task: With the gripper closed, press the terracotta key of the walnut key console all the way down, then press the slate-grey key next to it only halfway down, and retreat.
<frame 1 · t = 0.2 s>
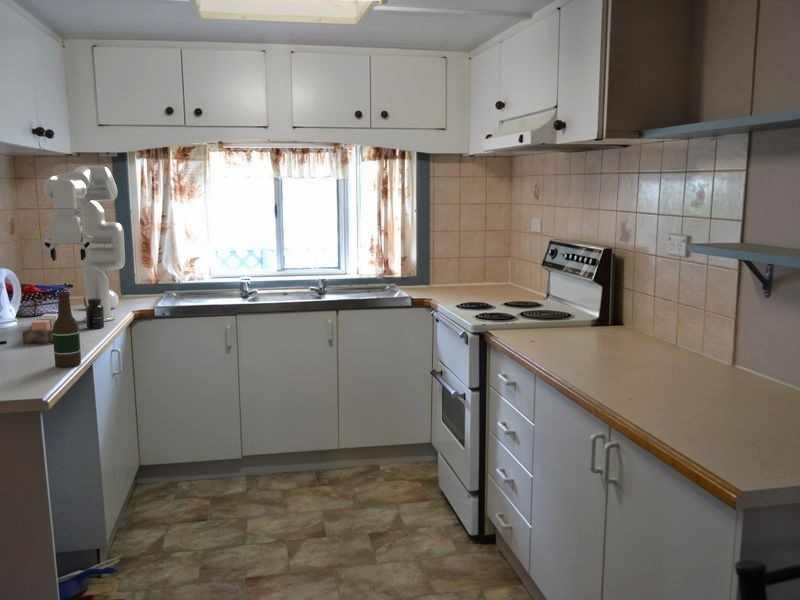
hand: (68, 260, 262), 30 cm above the countertop, tool pointing down, fingers open, 9 cm apart
slate key: (45, 323, 270), point 6 cm above the countertop, slide at 0.0 cm
key console: (47, 338, 271), on the countertop
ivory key: (50, 319, 277), point 6 cm above the countertop, slide at 0.0 cm
potion bottle: (102, 309, 338), on the countertop
supplement bottle: (95, 328, 292), on the countertop
terracotta key: (41, 326, 263), point 6 cm above the countertop, slide at 0.0 cm
beer bottle: (68, 366, 229), on the countertop
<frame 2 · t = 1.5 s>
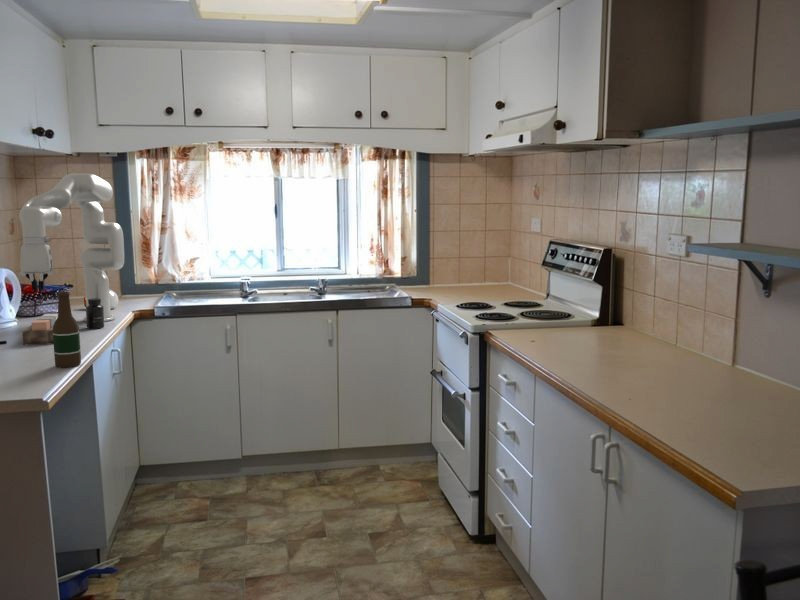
hand: (38, 291, 261), 19 cm above the countertop, tool pointing down, fingers closed
nothing on the countertop moved.
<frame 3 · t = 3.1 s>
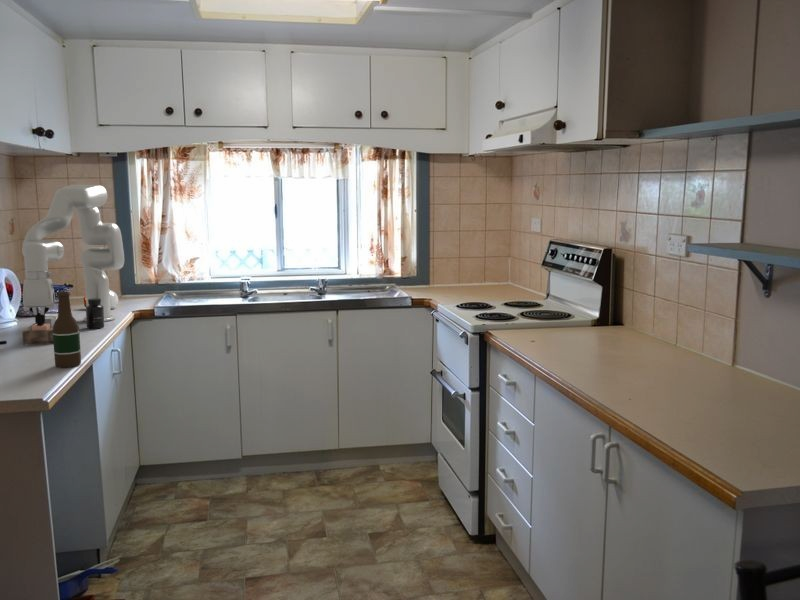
hand: (40, 325, 263), 6 cm above the countertop, tool pointing down, fingers closed
terracotta key: (41, 330, 264), point 4 cm above the countertop, slide at 1.5 cm, touching gripper
everything else where it was.
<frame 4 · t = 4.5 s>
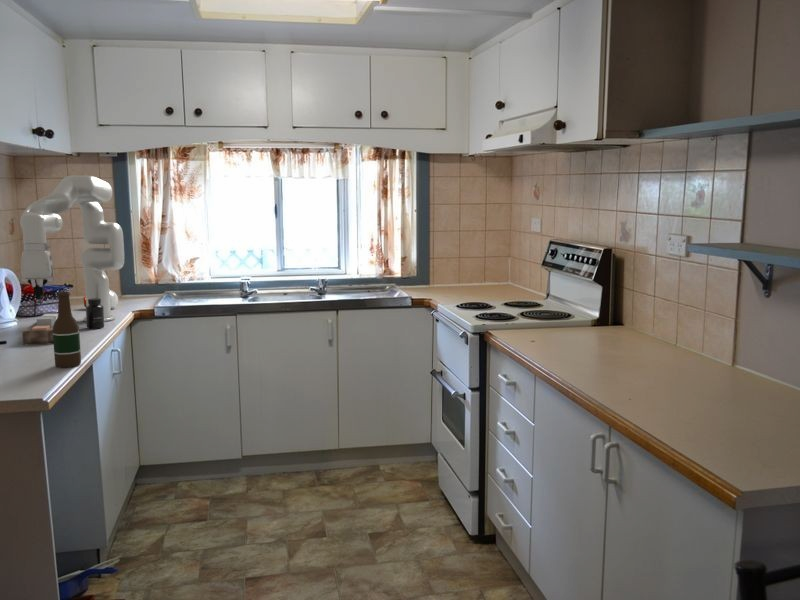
hand: (39, 297, 262), 17 cm above the countertop, tool pointing down, fingers closed
terracotta key: (41, 332, 264), point 4 cm above the countertop, slide at 2.1 cm
everything else where it was.
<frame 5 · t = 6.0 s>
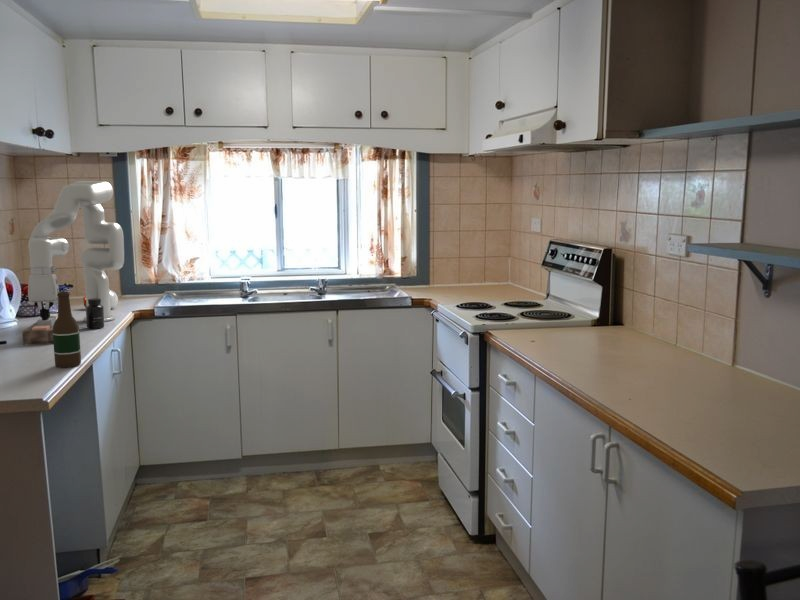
hand: (45, 319, 270), 7 cm above the countertop, tool pointing down, fingers closed
slate key: (46, 324, 270), point 5 cm above the countertop, slide at 0.5 cm, touching gripper
everything else where it was.
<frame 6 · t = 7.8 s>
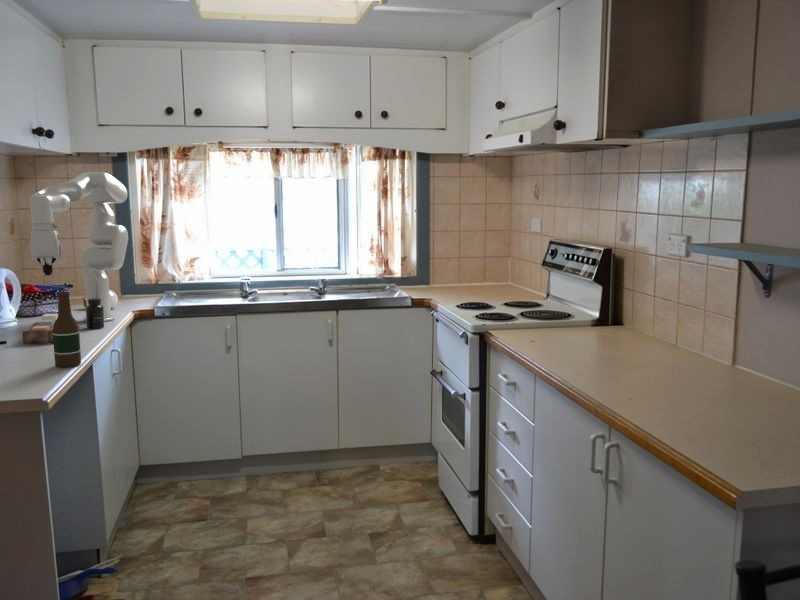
hand: (48, 274, 274), 24 cm above the countertop, tool pointing down, fingers closed
slate key: (46, 325, 270), point 5 cm above the countertop, slide at 1.0 cm
everything else where it was.
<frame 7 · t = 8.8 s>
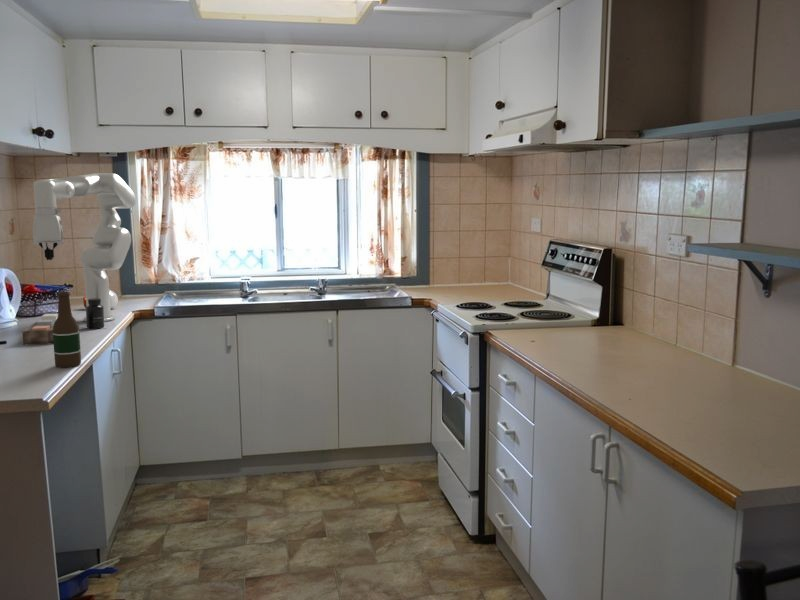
hand: (49, 259, 278), 29 cm above the countertop, tool pointing down, fingers closed
nothing on the countertop moved.
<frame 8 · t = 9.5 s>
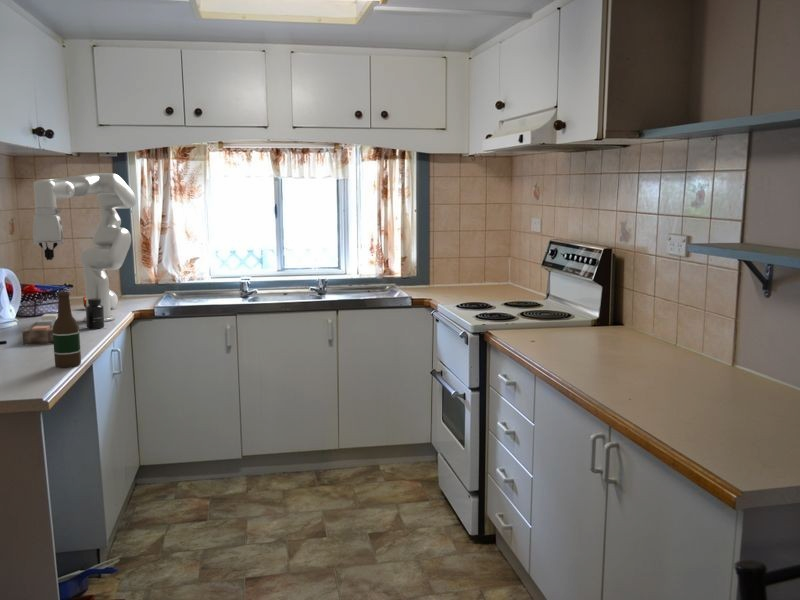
hand: (49, 259, 278), 29 cm above the countertop, tool pointing down, fingers closed
nothing on the countertop moved.
at the end: terracotta key slide at 2.1 cm; slate key slide at 1.0 cm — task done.
